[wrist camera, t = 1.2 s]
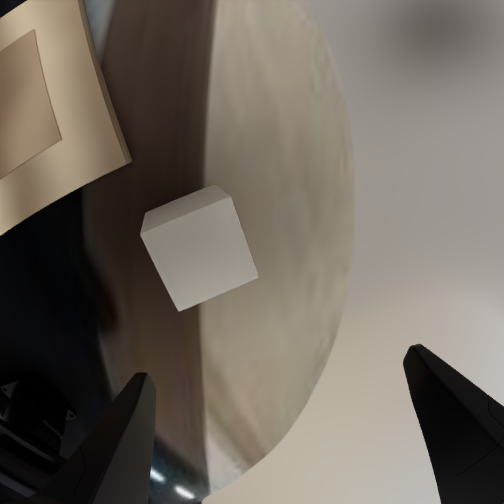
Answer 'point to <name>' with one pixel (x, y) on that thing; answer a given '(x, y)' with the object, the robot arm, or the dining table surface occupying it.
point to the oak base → (52, 109)
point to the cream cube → (198, 246)
